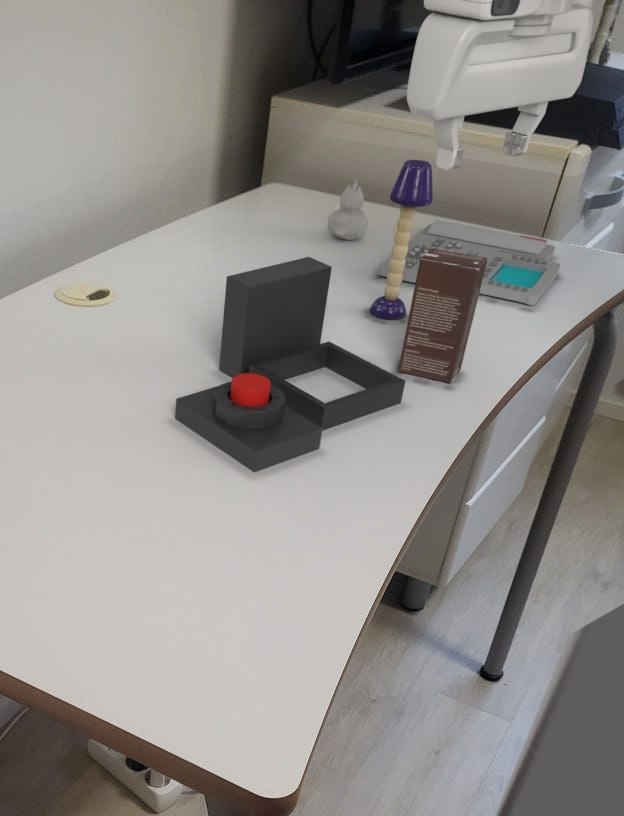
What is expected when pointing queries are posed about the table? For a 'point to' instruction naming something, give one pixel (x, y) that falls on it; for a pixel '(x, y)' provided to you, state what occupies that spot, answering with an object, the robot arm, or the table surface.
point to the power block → (249, 427)
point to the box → (441, 314)
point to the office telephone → (488, 259)
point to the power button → (250, 389)
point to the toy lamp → (404, 232)
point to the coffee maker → (296, 341)
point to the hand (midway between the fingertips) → (481, 161)
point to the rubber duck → (349, 215)
